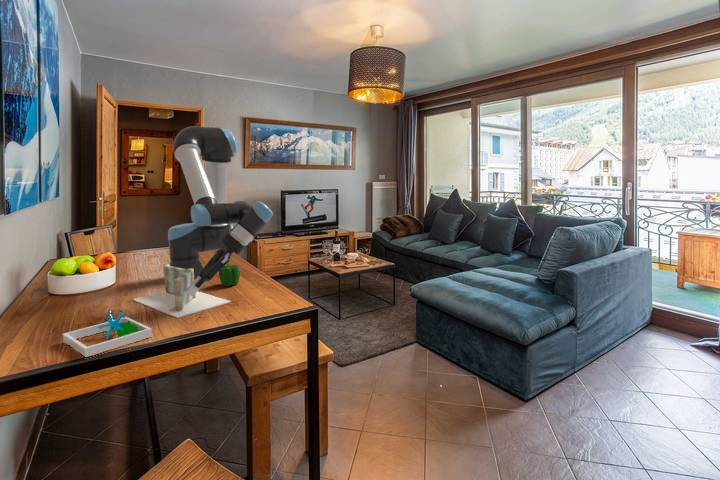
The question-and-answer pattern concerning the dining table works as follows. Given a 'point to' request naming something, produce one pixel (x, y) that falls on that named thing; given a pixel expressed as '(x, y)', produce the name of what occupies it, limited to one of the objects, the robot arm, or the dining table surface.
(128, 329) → the stick construction toy
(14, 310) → the dining table surface
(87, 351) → the grey storage tray
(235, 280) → the bell pepper
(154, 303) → the card
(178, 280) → the folding fence panel
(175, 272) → the fixed fence section
